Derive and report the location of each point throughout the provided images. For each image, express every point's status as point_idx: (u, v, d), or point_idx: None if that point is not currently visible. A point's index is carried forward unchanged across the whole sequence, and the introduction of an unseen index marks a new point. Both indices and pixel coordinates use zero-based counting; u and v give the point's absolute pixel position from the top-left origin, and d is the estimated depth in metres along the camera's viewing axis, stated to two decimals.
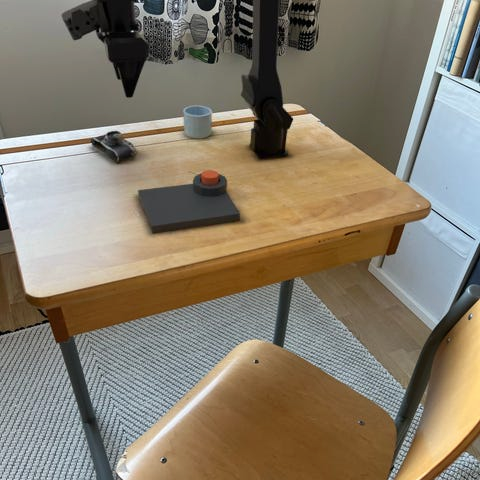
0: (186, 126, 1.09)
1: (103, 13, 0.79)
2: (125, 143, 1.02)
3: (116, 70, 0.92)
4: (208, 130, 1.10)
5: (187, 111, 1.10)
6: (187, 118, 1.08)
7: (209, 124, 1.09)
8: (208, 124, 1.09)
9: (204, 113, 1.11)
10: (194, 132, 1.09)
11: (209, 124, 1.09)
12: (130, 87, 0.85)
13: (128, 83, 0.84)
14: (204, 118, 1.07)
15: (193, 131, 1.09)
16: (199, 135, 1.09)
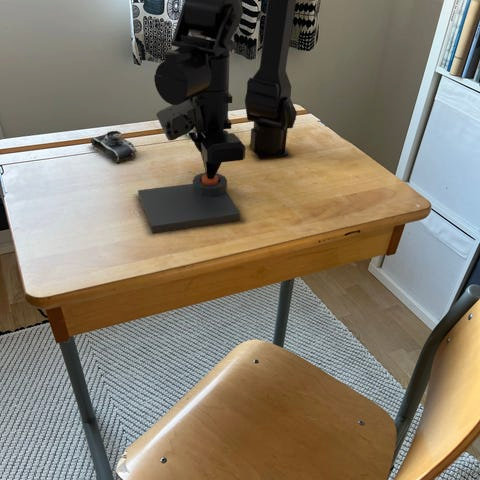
0: None
1: (200, 116, 0.80)
2: (125, 143, 1.02)
3: None
4: None
5: None
6: None
7: None
8: None
9: None
10: None
11: None
12: (213, 170, 0.89)
13: (211, 167, 0.88)
14: None
15: None
16: None
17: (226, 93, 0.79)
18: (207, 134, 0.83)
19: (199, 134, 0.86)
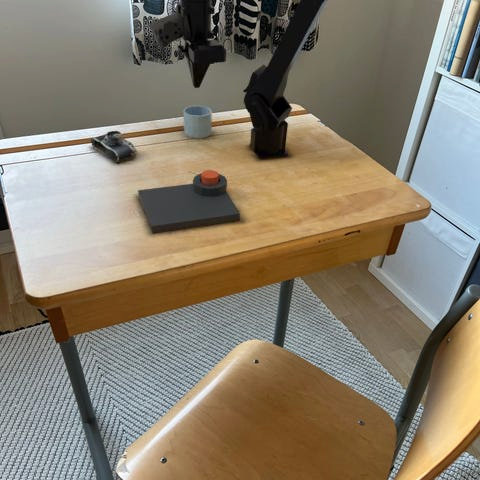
0: (186, 126, 1.09)
1: (187, 24, 0.94)
2: (125, 143, 1.02)
3: None
4: (208, 130, 1.10)
5: (187, 111, 1.10)
6: (187, 118, 1.08)
7: (209, 124, 1.09)
8: (208, 124, 1.09)
9: (204, 113, 1.11)
10: (194, 132, 1.09)
11: (209, 124, 1.09)
12: (198, 79, 1.03)
13: (197, 76, 1.02)
14: (204, 118, 1.07)
15: (193, 131, 1.09)
16: (199, 135, 1.09)
17: (209, 5, 0.94)
18: None
19: (186, 45, 1.00)
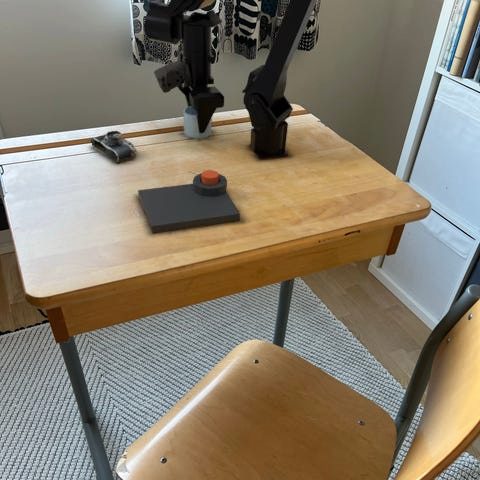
0: (186, 126, 1.09)
1: (188, 72, 1.00)
2: (125, 143, 1.02)
3: None
4: (208, 130, 1.10)
5: (187, 111, 1.10)
6: (187, 118, 1.08)
7: (209, 124, 1.09)
8: (208, 124, 1.09)
9: None
10: (194, 132, 1.09)
11: (209, 124, 1.09)
12: (203, 125, 1.07)
13: (202, 123, 1.07)
14: None
15: (193, 131, 1.09)
16: (199, 135, 1.09)
17: (209, 54, 1.00)
18: None
19: (185, 84, 1.08)
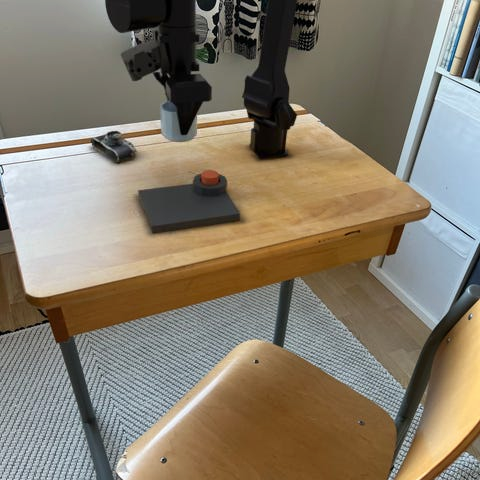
0: (163, 126, 0.85)
1: (165, 54, 0.76)
2: (125, 143, 1.02)
3: None
4: (192, 131, 0.85)
5: (165, 107, 0.86)
6: (164, 116, 0.83)
7: (193, 124, 0.85)
8: (192, 124, 0.84)
9: None
10: (174, 134, 0.84)
11: (193, 123, 0.85)
12: (186, 125, 0.83)
13: (184, 122, 0.82)
14: None
15: (172, 132, 0.84)
16: (180, 138, 0.85)
17: (193, 31, 0.76)
18: None
19: None
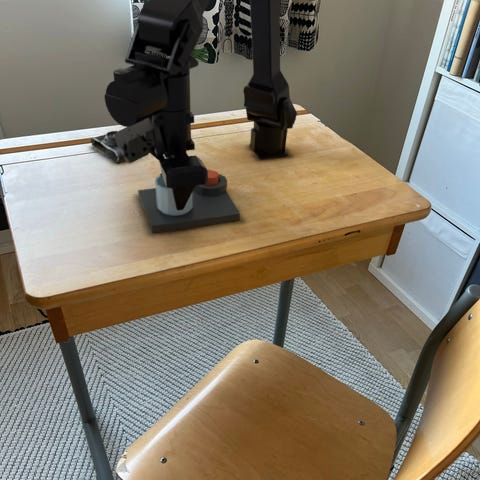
0: (159, 200, 0.83)
1: (160, 137, 0.75)
2: None
3: None
4: (188, 205, 0.84)
5: (161, 180, 0.84)
6: (160, 192, 0.82)
7: (189, 198, 0.83)
8: None
9: None
10: (169, 208, 0.83)
11: None
12: (182, 201, 0.82)
13: (180, 198, 0.81)
14: None
15: (167, 207, 0.83)
16: (176, 212, 0.84)
17: (187, 113, 0.74)
18: None
19: None
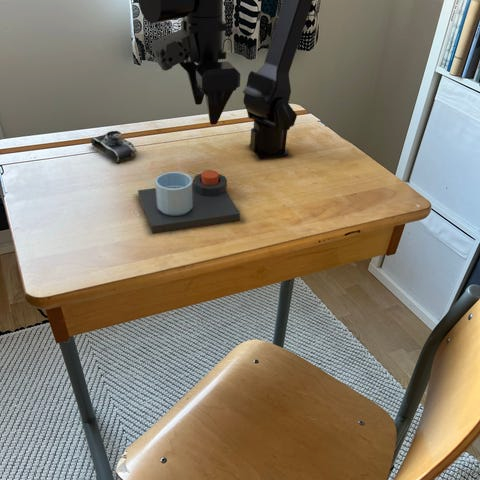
0: (159, 200, 0.83)
1: (194, 43, 0.79)
2: (125, 143, 1.02)
3: (195, 95, 0.92)
4: (188, 205, 0.84)
5: (161, 180, 0.84)
6: (160, 192, 0.82)
7: (189, 198, 0.83)
8: (188, 198, 0.83)
9: (183, 181, 0.86)
10: (169, 208, 0.83)
11: (189, 197, 0.84)
12: (216, 114, 0.86)
13: (214, 111, 0.85)
14: (181, 191, 0.82)
15: (167, 207, 0.83)
16: (176, 212, 0.84)
17: (220, 20, 0.79)
18: None
19: (187, 59, 0.88)
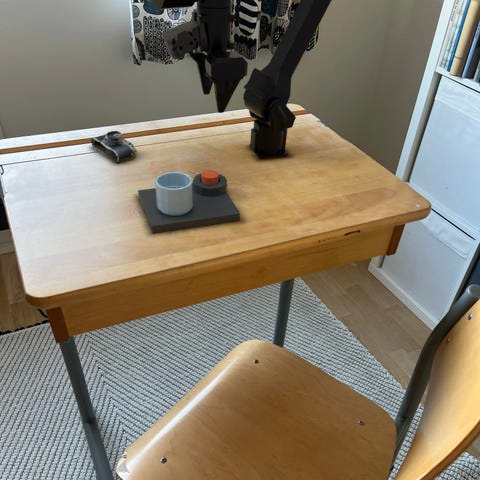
0: (159, 200, 0.83)
1: (204, 33, 0.83)
2: (125, 143, 1.02)
3: (203, 85, 0.95)
4: (188, 205, 0.84)
5: (161, 180, 0.84)
6: (160, 192, 0.82)
7: (189, 198, 0.83)
8: (188, 198, 0.83)
9: (183, 181, 0.86)
10: (169, 208, 0.83)
11: (189, 197, 0.84)
12: (223, 103, 0.89)
13: (221, 100, 0.88)
14: (181, 191, 0.82)
15: (167, 207, 0.83)
16: (176, 212, 0.84)
17: (229, 11, 0.83)
18: None
19: (196, 49, 0.92)
